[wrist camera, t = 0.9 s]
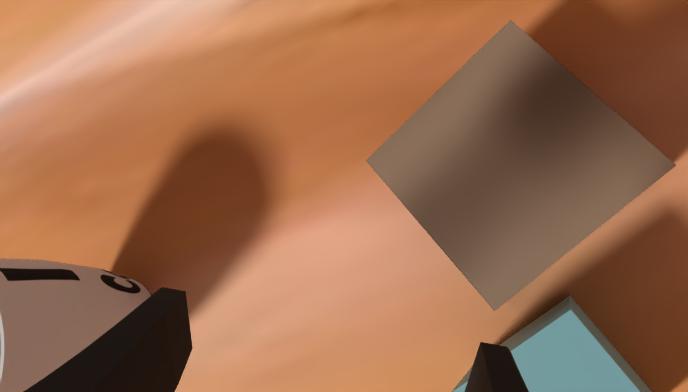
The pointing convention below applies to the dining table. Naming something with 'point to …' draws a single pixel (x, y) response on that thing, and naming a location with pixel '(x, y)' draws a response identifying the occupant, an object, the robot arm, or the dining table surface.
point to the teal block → (568, 355)
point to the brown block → (514, 164)
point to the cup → (55, 315)
